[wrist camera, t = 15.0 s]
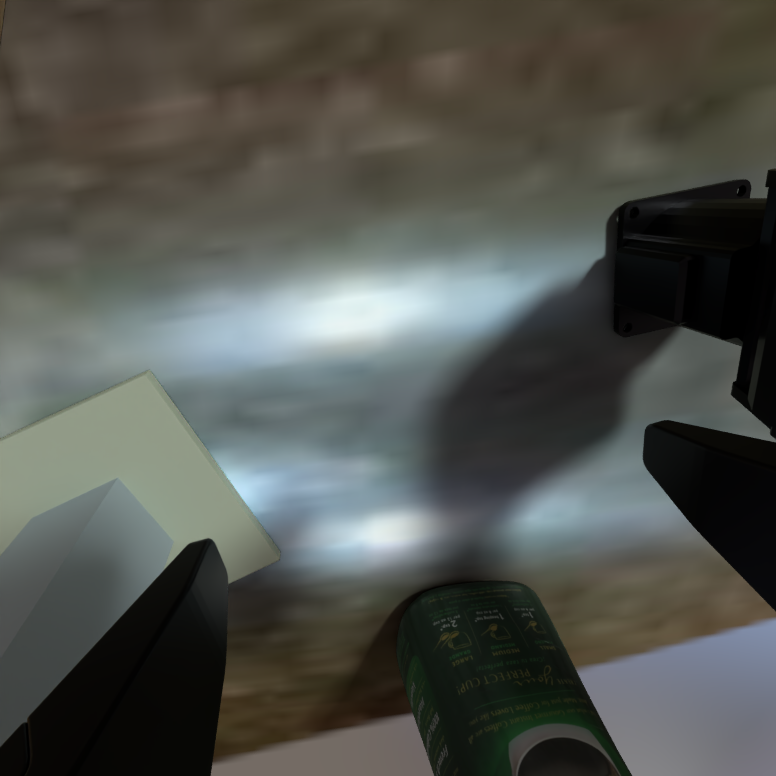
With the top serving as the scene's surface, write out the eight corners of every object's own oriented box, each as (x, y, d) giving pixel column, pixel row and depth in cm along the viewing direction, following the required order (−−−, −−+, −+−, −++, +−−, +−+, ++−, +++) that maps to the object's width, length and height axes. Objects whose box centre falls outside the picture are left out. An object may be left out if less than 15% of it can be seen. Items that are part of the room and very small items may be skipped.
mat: (149, 369, 20) (145, 374, 19) (280, 551, 25) (279, 559, 24) (-100, 484, 20) (-111, 492, 19) (82, 644, 25) (77, 654, 24)
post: (117, 477, 21) (-119, 841, 9) (173, 541, 23) (38, 913, 11) (31, 518, 21) (-318, 936, 9) (94, 578, 23) (-127, 992, 11)
